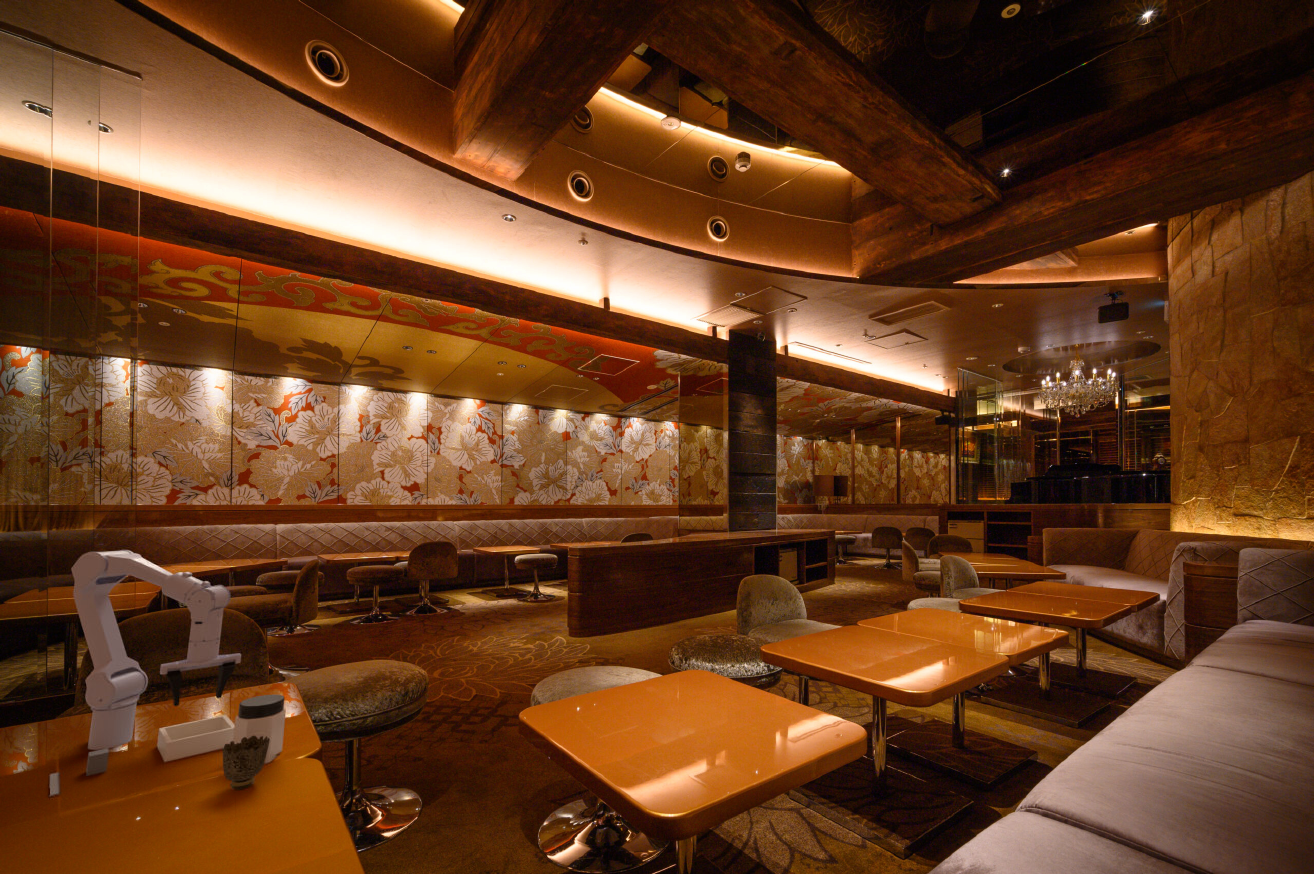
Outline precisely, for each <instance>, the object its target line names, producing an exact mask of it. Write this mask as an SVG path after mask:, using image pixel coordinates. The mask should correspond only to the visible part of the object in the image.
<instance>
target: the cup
mask: <svg viewBox="0 0 1314 874" xmlns="http://www.w3.org/2000/svg"><path fill="white" fill-rule="evenodd" d="M269 742H270V739H269V738H268V737H267V736H266V737H265V738H264V740H263V736H261V737H260V738H259V739H258V738H257V737H256V736H252V737H250V738H249V739H247V738H246V737H243V738H242V739H241V743H236V744H235V743H234V741H231V742H230V744H225V745H224V748H222V749H221V750H222V768H223V769H222V770H223V775H224V776H225V779H226V780H228V781H230V782H231V783H230V786H231V789H232V790H237V791H238V790H239V791H240V790H244V789H247V788H250V787H251V786H252V785H253V783H255V776H257V775H258V774H259V773H260V772H261V771H262V769H263V767H264V765H265V764H264V763H265V759H266V755H267V750H268V746H269Z"/></svg>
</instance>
